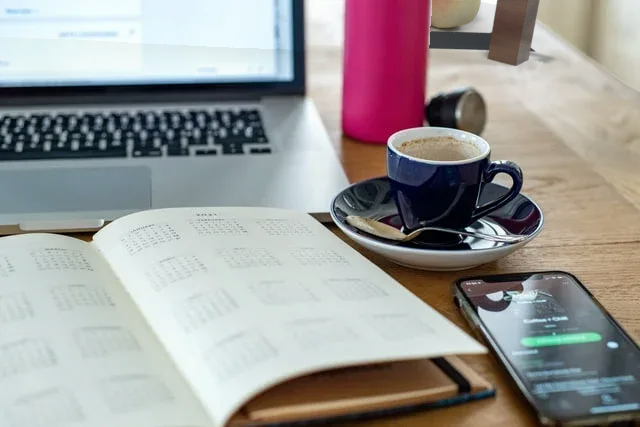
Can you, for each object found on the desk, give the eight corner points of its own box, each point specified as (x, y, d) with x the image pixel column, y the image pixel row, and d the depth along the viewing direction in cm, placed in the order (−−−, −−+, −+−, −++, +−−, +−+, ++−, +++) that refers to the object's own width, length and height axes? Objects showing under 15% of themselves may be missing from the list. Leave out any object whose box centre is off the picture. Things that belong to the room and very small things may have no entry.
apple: (408, 26, 132) (414, -28, 129) (434, 16, 139) (441, -36, 136) (460, 38, 128) (469, -17, 125) (485, 27, 135) (494, -25, 132)
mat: (512, 38, 131) (513, 33, 130) (535, 56, 123) (536, 51, 122) (408, 35, 128) (408, 30, 127) (424, 53, 120) (425, 48, 120)
